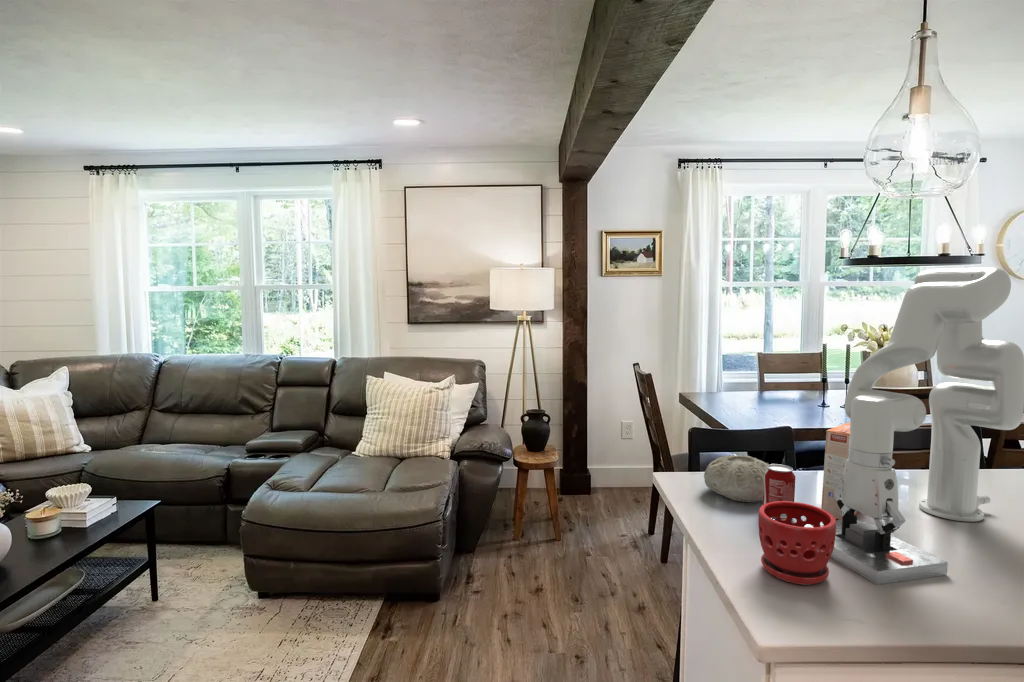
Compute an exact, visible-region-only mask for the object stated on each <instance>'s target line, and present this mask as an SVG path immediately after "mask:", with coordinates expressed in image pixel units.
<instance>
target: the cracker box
mask: <svg viewBox="0 0 1024 682" xmlns="http://www.w3.org/2000/svg"><path fill="white" fill-rule="evenodd" d="M825 434H826V435H825V446H824V447H825V449H824V450H825V451H824V464H823V475H822V477H823V478H822V490H821V492H822V493H821V507H820V508H821V509H823V510H825V511H827V512H829V513H830V514H831V515H833V517H834V518H835V520H837V519H838V520H842V515H841V514H840V508H839V506H838V504H837V500H836V498H835V495H834V491H835V490H837V489H839V488H841V487H842V479H843V473H844V468H845V464H846V461H847V460H848V454H849V439H850V422H845V423H843V424H841V425H838V426H834V427H832V428H829V429H827V430H826V433H825ZM859 513H860V512H858V511H857V512H856V513H855V514H854V515H856V516H857V515H858V514H859Z"/></svg>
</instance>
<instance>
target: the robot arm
mask: <svg viewBox="0 0 1024 682" xmlns="http://www.w3.org/2000/svg"><path fill="white" fill-rule="evenodd" d="M1011 288H1012V282H1011V278H1010V276H1009V274H1008V273H1007V271H1005V270H1004V269H1001V268H999V267H968V268H967V267H948V268H934V269H933V268H932V269H926V270H923V271H921V272H919V273H918V274H917V275H916V277H915V279H914V285H912V286H910V287H909V288H908V289H907V290H906V292H905V294H904V296H903V300H902V303H901V305H900V308H899V311H898V314H897V316H896V317H897V318H896V319H895V323H894V326H893V329H892V332H891V335H890V338H889V341H888V342H887V344H886V345H885V346H883V347H881V348H879V349H878V350H876V351H875V352H873V353H872V354H871V355H870V356H869V357H867V358H866V359H865V360H864V361H863V362H861V364H860V365H859V366H858V367H857V368H856V369H855V371H854V373H853V375H852V378H851V380H850V383H849V386H848V389H847V392H846V396H845V399H844V411H845V414H846V416H847V417H848V419H849V420H850V422H849V423H850V439H849V454H848V460H847V461H846V464H845V468H844V473H843V479H842V487H841V488H839V489H837V490H835V491H834V495H835V498H836V500H837V504H838V506H839V508H840V514H841V515H842V535H844V536H845V532H846V528H850V524H857V520H858V515H857V514H856V515H854V514H855V513H856V512H857V511H858V512H859V513H860V514H862V515H865V516H867V517H869V518H871V519H873V521H874V524H875V526H876V527H877V529H878V532H876V533H875V543H874V551H875V552H885V551H890V541H891V536H892V534H894V533H895V532H896V531H897V530H899V529H900V527H901V526H902V525H904V524H905V522H906V518H905V517H904V516H903V514H902V513H901V512H900V510H899V485H898V477H897V472H896V469H895V468H892V467H893V466H895V464H896V460H895V459H893V450H894V437H895V432H911V431H914V430H916V429H918V428H919V427H921V426H922V425H923V424H924V423H925V420H926V418H927V408H926V406H925V403H924V402H923V401H922V400H921V399H920V398H918V397H917V396H914V395H912V394H907V393H900V392H899V393H898V392H892V391H887V390H881V389H880V390H879V389H873V387H874V385H875V384H876V383H877V382H878V380H880V378H882V377H883V376H885V375H887V374H888V373H891V372H892V371H895V370H899V369H901V368H905V367H908V366H909V367H910V366H913V365H916V364H920V363H923V362H926V361H928V360H930V359H932V358H933V357H934V356H935V355H936V364H937V369H938V371H939V373H940V374H941V375H943V376H945V377H949V378H954V379H960V380H961V379H962V380H969V381H977V382H985V383H991V384H992V385H993V386H989V385H982V384H981V385H980V384H975V383H966V382H957V381H955V382H954V381H950V382H949V381H947V382H941V383H938V384H936V385H934V386H933V387H932V388H931V389H930V392H929V396H928V404H929V411H930V421H931V436H930V437H931V438H930V441H931V442H930V451H929V452H930V454H929V466H928V468H929V470H928V471H929V472H928V481H927V483H928V485H927V497H926V498H925V499H924V498H923V499H921V500H919V503H918V506H919V509H920V510H922V511H924V512H925V513H927V514H929V515H932V516H935V517H938V518H943V519H947V520H949V521H950V520H952V521H955V522H956V521H958V522H966V523H967V522H969V523H971V522H972V523H973V522H980V521H982V520H984V518H985V513H984V511H982V510H981V509H980V508H979V507H980V506H981V505H985V504H986V505H987V504H989V503H991V499H990V497H989V496H988V495H978V490H979V489H978V487H979V486H978V485H979V473H980V462H981V461H980V459H981V450H982V449H981V448H982V447H981V441H980V439H979V437H978V435H977V433H976V432H975V430H974V429H973V428H972V426H975V427H982V428H986V429H987V428H988V429H993V430H1001V431H1012V430H1015V429H1016V428H1018V427H1019V426H1020V425H1021V423H1022V421H1023V417H1024V353H1023V350H1022V348H1020V346H1019V345H1018V344H1016V343H1014V342H1012V341H1007V340H997V339H996V340H994V339H985V338H984V337H983V320H984V319H987V318H988V317H989V316H990V315H992V313H994V312H995V311H996V310H998V309H999V308H1001V307H1002V306H1003V304H1005V302H1006V301H1007V300H1008V298H1009V296H1010V294H1011ZM883 521H884V523H883Z"/></svg>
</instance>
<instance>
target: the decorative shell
mask: <svg viewBox="0 0 1024 682" xmlns="http://www.w3.org/2000/svg"><path fill="white" fill-rule="evenodd" d="M768 465H769V462H765V461H763V460H761V459H758V458H757V457H753V456H750V455H745V454H742V455H738V454H737V455H733V454H728V455H723V456H720V457H718V456H717V457H716V459H714V460H712V461H711V462H709V464H708V465H707V466H706V469H705V470H704V473H703V478H704V479H703V480H704V484H705V485H706V488H708V489H709V490H711V491H712V492H714V493H716V494H718V495H722V496H724V497H725V498H727V499H730V500H733V501H737V502H745V503H747V502H749V503H752V502H755V503H756V502H760V501H763V484H764V472H765V471H766V470H767V466H768Z"/></svg>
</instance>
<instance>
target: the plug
mask: <svg viewBox="0 0 1024 682" xmlns="http://www.w3.org/2000/svg"><path fill="white" fill-rule="evenodd" d="M876 532H878V529H877V526H876V525H874V524H873V523H870V522H863V523H858V524H850V528H846V532H845V541H846V542H848V543H850V544H852V545H854V546H856V547H858V548H860V549H861V550H863V551H865V552H867V553H876V552H875V551H874V543H875V533H876Z"/></svg>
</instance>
